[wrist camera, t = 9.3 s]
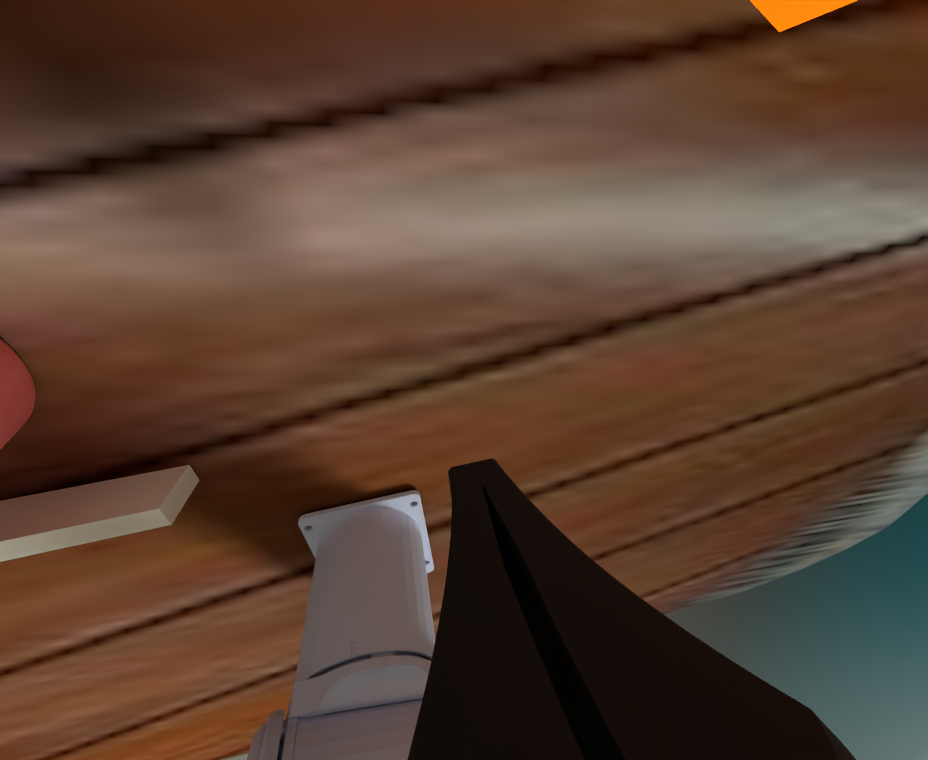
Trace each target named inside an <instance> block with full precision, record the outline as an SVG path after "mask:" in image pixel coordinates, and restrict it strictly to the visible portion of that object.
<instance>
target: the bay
mask: <svg viewBox="0 0 928 760" xmlns="http://www.w3.org/2000/svg"><path fill="white" fill-rule="evenodd" d="M198 482H199V478H198V477H197V475H196V474H195V472H194V471H193V469H192V468H191V466H190V465H185V466H180V467H175V468H170V469H164V470H159V471H154V472H149V473H144V474H138V475H133V476H128V477H123V478H117V479H112V480H107V481H102V482H96V483H91V484H86V485H81V486H75V487H70V488H65V489H60V490H55V491H49V492H44V493H39V494H34V495H28V496H23V497H18V498H13V499H7V500H2V501H0V562H1V561H6V560H11V559H15V558H20V557H25V556H29V555H34V554H39V553H43V552H48V551H52V550H57V549H62V548H66V547H71V546H76V545H80V544H85V543H89V542H94V541H99V540H103V539H108V538H113V537H117V536H122V535H127V534H131V533H136V532H140V531H145V530H150V529H154V528H159V527H164V526H168V525H172V523H173V522H174V520H175V519H176V517H177V515H178V514H179V512H180V511H181V509H182V507H183V506H184V504H185V503H186V501H187V499H188V498H189V496H190V495H191V493H192V491H193V490H194V488H195V487H196V485H197V483H198Z"/></svg>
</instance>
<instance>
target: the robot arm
mask: <svg viewBox="0 0 928 760" xmlns="http://www.w3.org/2000/svg"><path fill="white" fill-rule="evenodd" d="M448 474H449V482H450V490H451V497H452V521H451V539H450V549H449V558H448V567H447V576H446V583H445V590H444V596H443V602H442V608H441V614H440V620H439V625H438V630H437V635H436V640H435V635H434V627H433V619H432V612H431V604H430V596H429V588H428V581H427V573H429V572H431V571H433V569H434V564H433V559H432V554H431V549H430V544H429V539H428V534H427V529H426V524H425V519H424V514H423V508H422V503H421V498H420V493H419V492H418V491H416V490H410V491H406V492H401V493H397V494H393V495H388V496H384V497H379V498H375V499H370V500H366V501H361V502H357V503H352V504H348V505H344V506H339V507H335V508H330V509H326V510H321V511H317V512H312V513H308V514H304V515H302V516H300V518H299V520H298V525H299V527H300V529H301V531H302V533H303V535H304V537H305V539H306V541H307V543H308V545H309V547H310V549H311V551H312V553H313V555H314V557H315V559H316V560H315V565H314V571H313V577H312V583H311V589H310V595H309V601H308V607H307V612H306V618H305V624H304V630H303V636H302V642H301V648H300V654H299V659H298V665H297V671H296V677H295V683H294V685H293V690H292V694H291V698H290V703H289V707H288V711H287V715H286V719H285V720H283V718H284V710H278V711H273V712H271V714H270V715H269V717H268V720H267V722H264V723H263V724H262V726H261V727H260V728H259V729H258V730H257V731H256V732H255V734H254V736H253V739H252V743H251V746H250V750H249V754H248V758H247V760H856V759H855V758H854V756H853V755H852V754H851V753H850V752H849V750H848V749H847V748H846V747H845V746H844V745H843V744H842V742H841V741H840V740H839V739H838V738H837V737H836V736H835V735H834V734H833V733H832V732H831V731H830V730H829V728H827V727H826V725H825V724H824V723H823V722H822V721H821V720H820V719H819V718H818V717H817V716H816V715H815V713H814V712H813V711H812V710H811V709H809V708H808V707H806V706H805V705H803V704H801V703H800V702H798V701H796V700H795V699H793V698H791V697H790V696H788V695H786V694H785V693H783V692H782V691H780V690H778V689H777V688H775V687H773V686H771V685H770V684H768V683H767V682H765V681H763V680H762V679H760V678H759V677H757V676H755V675H753V674H752V673H751V672H749V671H747V670H745V669H744V668H743V667H741V666H739V665H738V664H736V663H735V662H733V661H731V660H730V659H728V658H727V657H725V656H724V655H722V654H721V653H719V652H718V651H716V650H715V649H713V648H712V647H710V646H709V645H707V644H706V643H704V642H702V641H701V640H699V639H698V638H696V637H695V636H693V635H692V634H690V633H689V632H687V631H686V630H684V629H683V628H682V627H680V626H679V625H677V624H676V623H675V622H673V621H672V620H671V619H669V618H668V617H666V616H665V615H664V614H662V613H661V612H659V611H658V610H657V609H655V608H654V607H652V606H651V605H650V604H648V603H647V602H645V601H644V600H642V599H641V598H640V597H638V596H637V595H636V594H634V593H633V592H632V591H630V590H629V589H628V588H627V587H625V586H624V585H623V584H621V583H620V582H619V581H618V580H616V579H615V578H614V577H612V576H611V575H610V574H609V573H608V572H606V571H605V570H604V569H603V568H601V567H600V566H599V565H598V564H597V563H595V562H594V561H593V560H592V559H591V558H589V557H588V556H587V555H586V554H585V553H584V552H583V551H581V550H580V549H579V548H578V547H577V546H576V545H575V544H574V543H572V542H571V541H570V540H569V539H568V538H567V537H566V536H565V535H564V534H563V533H562V532H561V531H560V530H558V529H557V528H556V527H555V526H554V525H553V524H552V523H551V522H550V521H549V520H548V519H547V518H546V517H545V516H544V515H543V514H542V513H541V512H540V511H539V510H538V509H537V508H536V506H535V505H534V504H533V503H532V502H531V501H530V500H529V499H528V498H527V497H526V496H525V495H524V494H523V493H522V492H521V490H520V489H519V488H518V487H517V486H516V485H515V484H514V482H513V481H512V480H511V479H510V478H509V477H508V475H507V474H506V473H505V472H504V470H503V469H502V468H501V467H500V465H499V464H498V463H497V461H496V460H494V459H488V460H483V461H478V462H474V463H469V464H465V465H460V466H455V467H452V468H451V469H450V470H449V471H448ZM413 501H415V502H413Z"/></svg>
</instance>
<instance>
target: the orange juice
mask: <svg viewBox="0 0 928 760" xmlns="http://www.w3.org/2000/svg"><path fill="white" fill-rule="evenodd" d="M750 1H751V2H752V3H753V4H754V5H755V6H756V7H757V9H758V10H759V11H760V12H761V13H762V14H763V15H764V16H765V17H766V18H767V19H768V20H769V22H770V23H771V24H772V25H773V26H774V27H775V28H776V29H777V30H778V31H779V32H781V31H783V30H786V29H788V28H791V27H793V26H796V25H798V24H801V23H803V22H805V21H808V20H810V19H813V18H815V17H818V16H820V15H823V14H825V13H828V12H830V11H833V10H835V9H838V8H840V7H842V6H845V5H847V4H850V3H852V2H855V1H857V0H750Z"/></svg>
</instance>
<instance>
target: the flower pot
mask: <svg viewBox="0 0 928 760" xmlns="http://www.w3.org/2000/svg"><path fill="white" fill-rule="evenodd" d="M35 398H36V394H35V387H34V383H33V380H32V377H31V375H30V373H29V371H28V369H27V368H26V366H25V365H24V363H23V362H22V360H21V359H20V358H19V357H18V356H17V354H16V353H15V352H14V351H13V350H12V349H11V348H10V347H9V346H8V345H7V344H6V343H5V342H4V341H3V340H1V339H0V450H1V449H2V448H3V447H4V446H5V444H6V443H7V442H8V441H9V440H10V439H11V438H12V437H13V436H14V435H15V434H16V433H17V432H18V431H19V429H20V428H21V427H22V426H23V425H24V424H25V423H26V421H27V420H28V419H29V417H30V416H31V414H32V412H33V409H34V405H35Z"/></svg>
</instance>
